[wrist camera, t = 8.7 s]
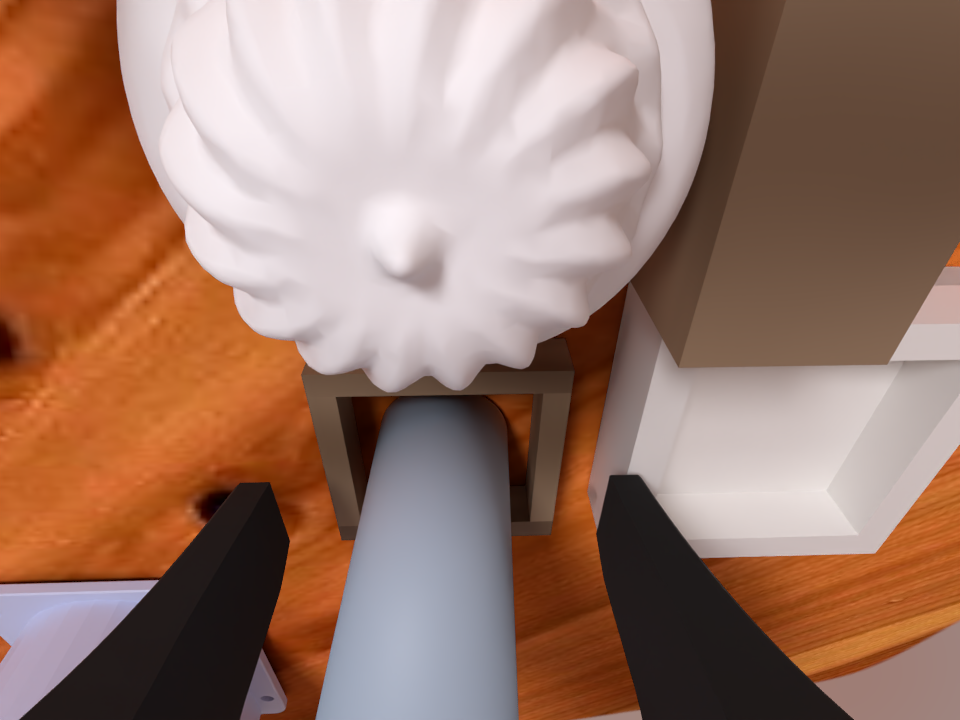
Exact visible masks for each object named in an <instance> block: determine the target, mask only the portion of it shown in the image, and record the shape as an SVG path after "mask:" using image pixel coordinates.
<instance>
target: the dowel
mask: <svg viewBox="0 0 960 720" xmlns="http://www.w3.org/2000/svg"><path fill="white" fill-rule="evenodd" d="M315 720H519V719H518V693H517V668H516V642H515V616H514V590H513V565H512V539H511V513H510V487H509V461H508V436H507V425H506V422H505V419H504V417H503V415H502V413H501V412H500V411H499V409H498V408H497V407H496V406H495V405H494V404H493V403H492V402H491V401H489V400H488V399H487V398H485V397H483V396H482V395H422V396H400V397H398V398H397V399H396V400H394V401H393V402H392V403H391V404H390V405H389V407H388V408H387V409H386V411H385V413H384V415H383V418H382V422H381V426H380V431H379V435H378V440H377V444H376V449H375V453H374V458H373V462H372V467H371V471H370V476H369V480H368V485H367V489H366V494H365V498H364V503H363V507H362V512H361V516H360V521H359V525H358V530H357V534H356V539H355V543H354V548H353V552H352V557H351V561H350V566H349V571H348V575H347V580H346V584H345V589H344V593H343V598H342V602H341V607H340V611H339V616H338V620H337V625H336V629H335V634H334V638H333V643H332V647H331V652H330V656H329V661H328V665H327V670H326V674H325V679H324V683H323V688H322V692H321V697H320V701H319V706H318V710H317V715H316V719H315Z"/></svg>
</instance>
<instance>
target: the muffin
mask: <svg viewBox="0 0 960 720" xmlns="http://www.w3.org/2000/svg"><path fill="white" fill-rule="evenodd" d="M117 34H118V47H119V56H120V64H121V71H122V77H123V82H124V88H125V92H126V96H127V100H128V104H129V108H130V112H131V116H132V119H133V122H134V125H135V128H136V131H137V134H138V137H139V140H140V143H141V145H142V148H143V150H144V153H145V155H146V158H147V160H148V163H149V165H150V167H151V169H152V171H153V173H154V175H155V177H156V179H157V181H158V183H159V185H160V187H161V189H162V191H163V192H164V194H165V196H166V197H167V199H168V201H169V202H170V204H171V206H172V207H173V209H174V210H175V212H176V213H177V215H178V216H179V218H180V219H181V220H182V222H183V223H184V225H185V235H186V242H187V244H188V246H189V248H190V250H191V252H192V254H193V256H194V257H195V258H196V260H197V261H198V262H199V264H200V265H201V266H202V267H203V268H204V269H205V270H206V271H207V272H208V273H210V274H211V275H212V276H213V277H214V278H215V279H217V280H219V281H220V282H222V283H224V284H227V285H229V286H232V287H233V291H234V299H235V304H236V307H237V309H238V312H239V314H240V316H241V317H242V319H243V320H244V321H245V322H246V323H247V324H248V325H249V326H250V327H251V328H252V329H253V330H254V331H255V332H257V333H258V334H261V335H263V336H265V337H269V338H274V339H279V340H290V341H295V343H296V345H297V348H298V351H299V353H300V354H301V356H302V357H303V359H304V360H305V362H306V363H307V365H308V366H309V367H311V368H312V369H314V370H316V371H317V372H319V373H321V374H325V375H336V374H343V373H346V372H349V371H352V370H356V369H359V368H362V369H363V371H364V372H365V374H366V375H367V377H368V378H369V379H370V380H371V382H372V383H373V384H374V385H376V386H377V387H378V388H380V389H381V390H383V391H385V392H398V391H400V390H403V389H405V388H406V387H408V386H409V385H411V384H412V383H414V382H416V381H417V380H419V379H420V378H422V377H424V376H433V377H434V378H435V379H437V380H438V381H439V382H440V383H441V384H443V385H444V386H446V387H448V388H450V389H452V390H459V391H461V390H463V389H464V388H466V387H467V386H468V385H470V384H471V382H472V381H473V380H474V378H475V377H476V376H477V374H478V373H479V372H480V370H481V369H482V368H483V367H484V366H485V364H495V363H498V364H501V365H505V366H508V367H512V368H517V369H524V368H526V367H529V366H530V364H531V362H532V360H533V358H534V355H535V351H536V347H537V344H538V343H540V342H543V341H546V340H548V339H550V338H552V337H554V336H557V335H559V334H561V333H563V332H564V331H566V330H568V329H570V328H579V327H582V326H584V325H585V324H586V323H587V321H588V319H589V316H590V315H591V314H593V313H594V312H595V311H597V310H598V309H600V308H601V307H602V306H603V305H604V304H606V303H607V302H608V301H609V300H610V299H612V298H613V297H614V296H615V295H616V294H617V293H618V292H619V291H620V290H621V289H622V288H623V287H624V286H625V285H626V284H627V283H628V282H629V281H630V280H631V279H632V278H633V277H634V276H635V275H636V274H637V273H638V271H639V270H640V269H641V268H642V266H643V265H644V264H645V263H646V262H647V260H648V259H649V258H650V257H651V255H652V254H653V253H654V251H655V250H656V248H657V247H658V245H659V244H660V243H661V241H662V240H663V238H664V237H665V235H666V233H667V232H668V230H669V228H670V227H671V225H672V223H673V222H674V220H675V219H676V217H677V215H678V213H679V211H680V209H681V207H682V205H683V203H684V201H685V199H686V197H687V194H688V192H689V190H690V187H691V185H692V182H693V180H694V177H695V174H696V171H697V168H698V165H699V162H700V159H701V156H702V152H703V148H704V145H705V141H706V136H707V131H708V126H709V121H710V113H711V106H712V98H713V91H714V74H715V41H714V30H713V17H712V6H711V0H117Z"/></svg>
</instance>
